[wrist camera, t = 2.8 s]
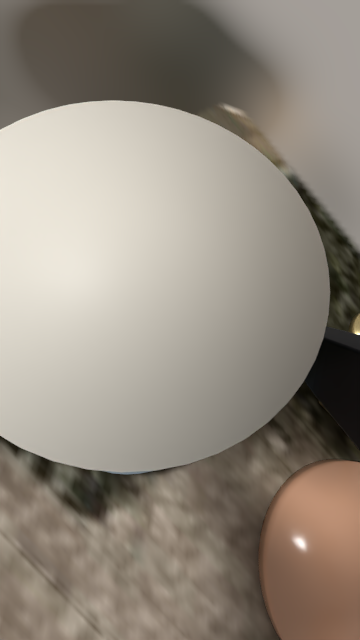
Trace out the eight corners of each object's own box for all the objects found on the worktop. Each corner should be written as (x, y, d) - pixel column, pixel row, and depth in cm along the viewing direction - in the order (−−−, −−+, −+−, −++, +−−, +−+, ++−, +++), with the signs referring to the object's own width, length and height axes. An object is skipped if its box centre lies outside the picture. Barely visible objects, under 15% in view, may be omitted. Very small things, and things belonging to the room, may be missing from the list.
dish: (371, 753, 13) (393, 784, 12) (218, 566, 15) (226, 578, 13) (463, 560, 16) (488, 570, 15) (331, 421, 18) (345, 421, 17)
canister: (127, 456, 14) (108, 607, 3) (52, 364, 15) (-186, 208, 4) (212, 375, 16) (396, 278, 5) (141, 297, 17) (160, 59, 6)
